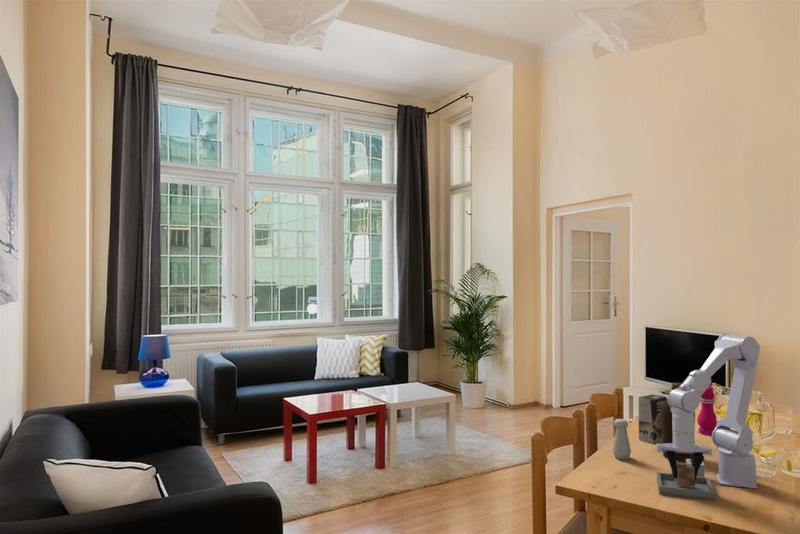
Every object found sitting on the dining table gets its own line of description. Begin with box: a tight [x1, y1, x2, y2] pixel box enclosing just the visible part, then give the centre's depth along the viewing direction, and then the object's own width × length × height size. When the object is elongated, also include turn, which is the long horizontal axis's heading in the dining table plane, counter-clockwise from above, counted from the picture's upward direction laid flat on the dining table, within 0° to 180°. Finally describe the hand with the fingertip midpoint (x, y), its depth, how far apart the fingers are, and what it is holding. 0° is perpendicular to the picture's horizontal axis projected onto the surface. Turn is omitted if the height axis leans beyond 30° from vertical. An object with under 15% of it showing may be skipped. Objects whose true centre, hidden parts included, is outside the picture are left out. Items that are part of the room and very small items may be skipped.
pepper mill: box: [696, 385, 717, 437], centre depth 216 cm, size 7×7×20 cm
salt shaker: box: [612, 418, 632, 461], centre depth 190 cm, size 6×6×13 cm
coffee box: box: [638, 394, 668, 444], centre depth 209 cm, size 9×6×16 cm
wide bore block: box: [685, 459, 706, 477], centre depth 171 cm, size 4×4×5 cm
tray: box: [656, 471, 716, 502], centre depth 162 cm, size 14×12×2 cm
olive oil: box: [660, 382, 696, 462], centre depth 190 cm, size 11×11×25 cm
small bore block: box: [674, 462, 695, 486], centre depth 163 cm, size 4×4×5 cm
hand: (684, 477), depth 162 cm, fingers closed on small bore block, 4 cm apart
